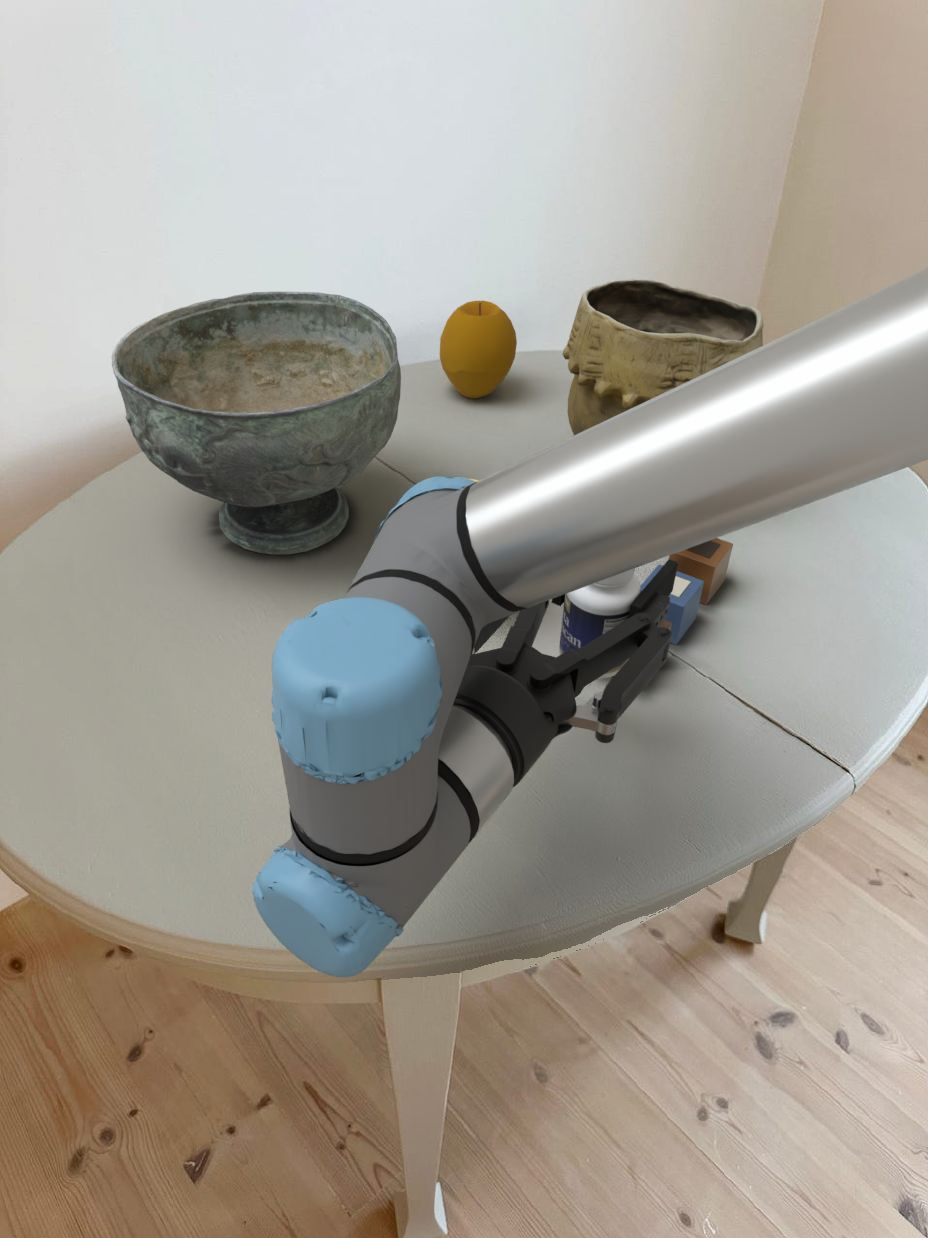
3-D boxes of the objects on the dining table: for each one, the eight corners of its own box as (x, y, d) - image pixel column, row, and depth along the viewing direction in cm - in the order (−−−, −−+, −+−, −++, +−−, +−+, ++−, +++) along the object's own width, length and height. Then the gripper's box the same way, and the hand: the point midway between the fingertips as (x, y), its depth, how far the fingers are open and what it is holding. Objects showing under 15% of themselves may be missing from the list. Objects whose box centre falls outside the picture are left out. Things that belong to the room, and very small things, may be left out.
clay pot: (625, 408, 120) (648, 247, 107) (775, 472, 109) (820, 301, 96) (514, 468, 108) (525, 296, 96) (669, 547, 97) (704, 364, 84)
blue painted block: (695, 619, 89) (704, 580, 86) (676, 645, 86) (684, 606, 83) (651, 601, 91) (658, 562, 88) (630, 627, 88) (637, 587, 85)
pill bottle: (545, 646, 74) (555, 543, 68) (602, 626, 76) (617, 525, 70) (582, 689, 71) (597, 586, 64) (642, 668, 73) (662, 565, 66)
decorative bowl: (463, 532, 98) (457, 345, 85) (239, 637, 86) (194, 437, 73) (325, 438, 114) (303, 269, 101) (121, 514, 102) (67, 334, 89)
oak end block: (724, 581, 93) (733, 542, 90) (706, 605, 90) (715, 566, 87) (681, 565, 95) (689, 527, 92) (662, 588, 92) (670, 549, 89)
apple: (521, 408, 120) (526, 317, 112) (444, 412, 118) (444, 320, 111) (507, 373, 127) (512, 286, 119) (435, 377, 126) (435, 289, 118)
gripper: (351, 727, 64) (527, 559, 79) (594, 857, 57) (738, 643, 72) (344, 644, 59) (533, 481, 74) (609, 774, 52) (760, 563, 67)
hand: (633, 561), depth 73 cm, fingers closed on pill bottle, 5 cm apart
